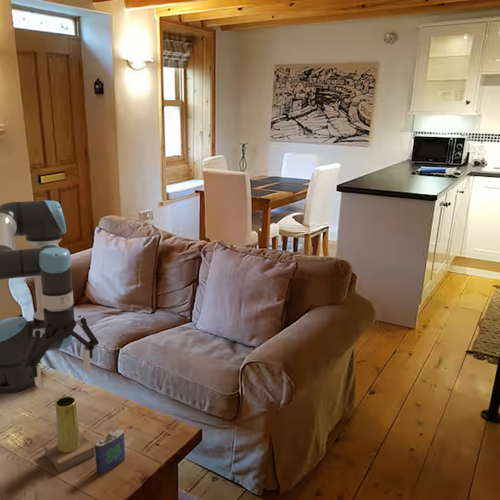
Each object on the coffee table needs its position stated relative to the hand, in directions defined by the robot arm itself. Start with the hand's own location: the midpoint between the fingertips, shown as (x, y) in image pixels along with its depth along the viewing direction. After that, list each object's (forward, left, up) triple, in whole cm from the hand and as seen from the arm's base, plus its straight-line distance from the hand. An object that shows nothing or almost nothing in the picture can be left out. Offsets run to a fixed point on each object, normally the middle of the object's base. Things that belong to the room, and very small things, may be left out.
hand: (63, 377), depth 131 cm
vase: (+3, -1, -20) cm, 20 cm away
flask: (+14, +6, -23) cm, 28 cm away
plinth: (+3, -1, -23) cm, 23 cm away
